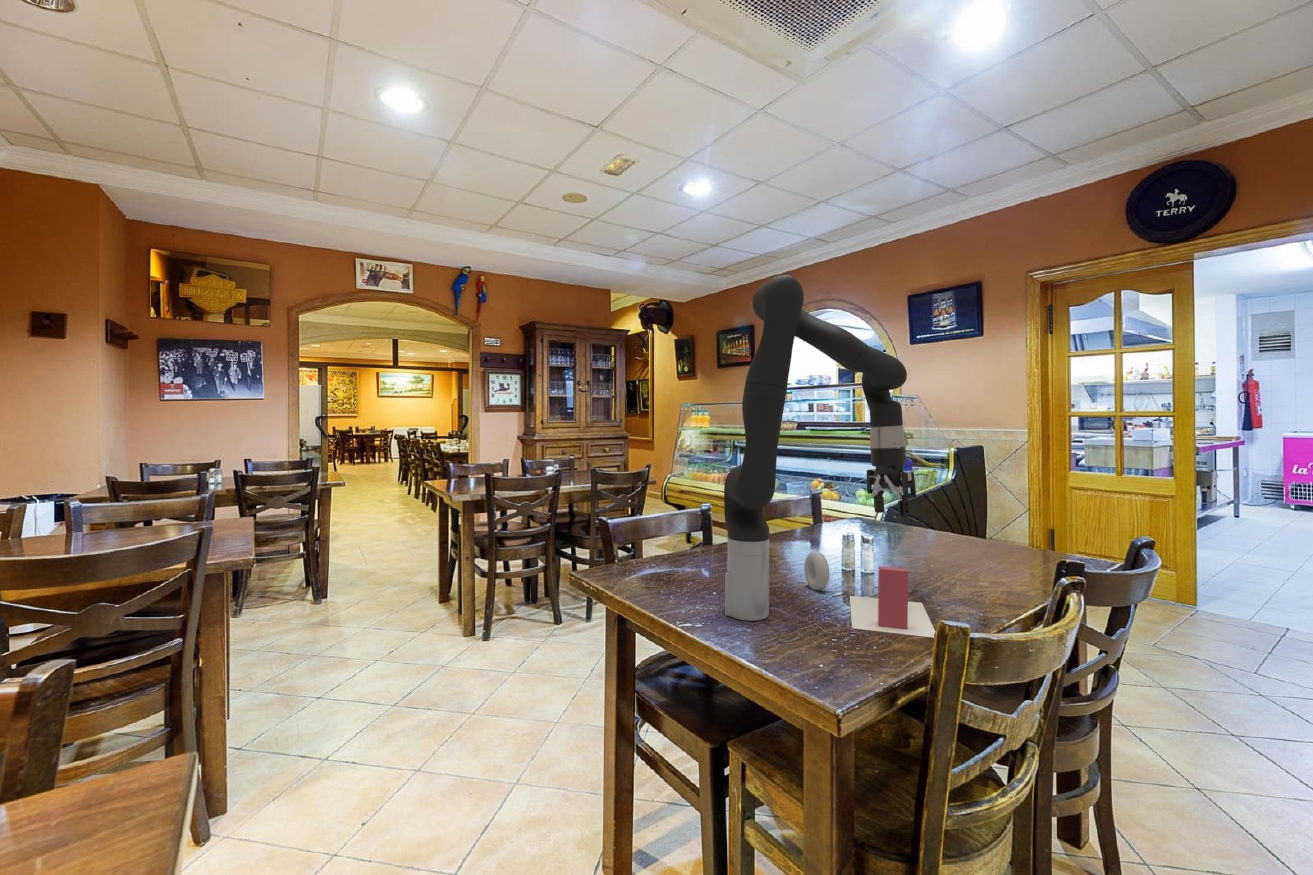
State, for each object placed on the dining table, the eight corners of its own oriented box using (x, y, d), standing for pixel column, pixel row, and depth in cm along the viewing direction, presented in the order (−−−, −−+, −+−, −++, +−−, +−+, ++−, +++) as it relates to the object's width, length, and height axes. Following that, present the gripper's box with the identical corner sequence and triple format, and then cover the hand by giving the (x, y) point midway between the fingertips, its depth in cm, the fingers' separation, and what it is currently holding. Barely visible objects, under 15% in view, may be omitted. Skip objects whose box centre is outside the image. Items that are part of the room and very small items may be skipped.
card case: (878, 626, 113) (879, 569, 112) (877, 622, 115) (878, 566, 115) (907, 629, 111) (908, 571, 111) (905, 625, 113) (906, 568, 113)
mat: (852, 630, 112) (852, 628, 112) (849, 598, 133) (849, 595, 133) (938, 640, 107) (938, 637, 107) (921, 605, 128) (921, 602, 128)
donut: (832, 596, 134) (832, 556, 134) (818, 596, 134) (819, 556, 134) (814, 584, 144) (814, 547, 144) (801, 584, 144) (802, 547, 143)
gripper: (855, 446, 133) (859, 512, 133) (894, 446, 119) (898, 520, 119) (881, 444, 135) (885, 509, 135) (923, 444, 121) (927, 517, 121)
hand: (891, 514), depth 127 cm, fingers open, 8 cm apart
